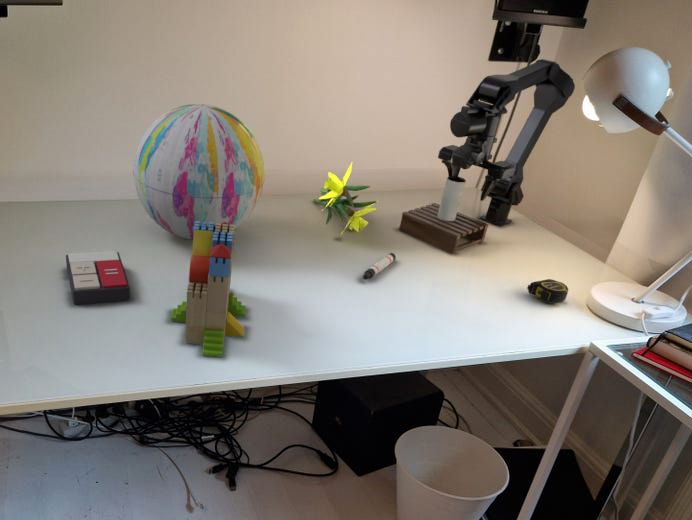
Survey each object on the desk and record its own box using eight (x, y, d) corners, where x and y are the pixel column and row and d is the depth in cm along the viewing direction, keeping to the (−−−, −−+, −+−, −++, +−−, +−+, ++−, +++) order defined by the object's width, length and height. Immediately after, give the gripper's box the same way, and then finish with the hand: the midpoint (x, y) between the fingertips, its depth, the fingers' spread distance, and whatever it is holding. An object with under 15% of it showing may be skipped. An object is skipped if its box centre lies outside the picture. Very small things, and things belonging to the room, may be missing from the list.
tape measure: (546, 290, 148) (552, 275, 146) (570, 304, 143) (576, 289, 141) (524, 294, 145) (529, 279, 143) (547, 308, 140) (553, 293, 138)
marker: (387, 259, 155) (389, 251, 154) (394, 261, 154) (396, 254, 153) (358, 281, 144) (360, 272, 143) (366, 284, 143) (368, 275, 142)
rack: (430, 220, 178) (434, 202, 175) (483, 242, 168) (489, 224, 165) (398, 230, 170) (402, 212, 167) (451, 254, 160) (457, 235, 157)
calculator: (72, 288, 123) (65, 250, 135) (73, 307, 126) (66, 269, 137) (130, 284, 127) (118, 248, 138) (130, 303, 129) (118, 265, 140)
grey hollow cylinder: (456, 217, 167) (467, 178, 162) (453, 223, 164) (464, 183, 158) (438, 213, 169) (449, 174, 163) (435, 219, 165) (445, 179, 159)
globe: (236, 208, 174) (245, 90, 157) (276, 257, 151) (292, 124, 134) (124, 213, 165) (121, 88, 148) (148, 266, 142) (147, 125, 125)
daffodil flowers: (363, 207, 185) (398, 222, 152) (317, 232, 186) (342, 252, 153) (338, 152, 180) (368, 156, 147) (290, 178, 181) (310, 188, 148)
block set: (180, 279, 138) (183, 191, 127) (246, 284, 138) (255, 197, 127) (163, 352, 115) (165, 252, 104) (242, 359, 115) (252, 260, 104)
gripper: (432, 127, 160) (418, 188, 168) (499, 148, 148) (480, 212, 157) (458, 121, 166) (443, 181, 175) (524, 141, 155) (504, 204, 163)
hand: (466, 194), depth 167 cm, fingers open, 9 cm apart
